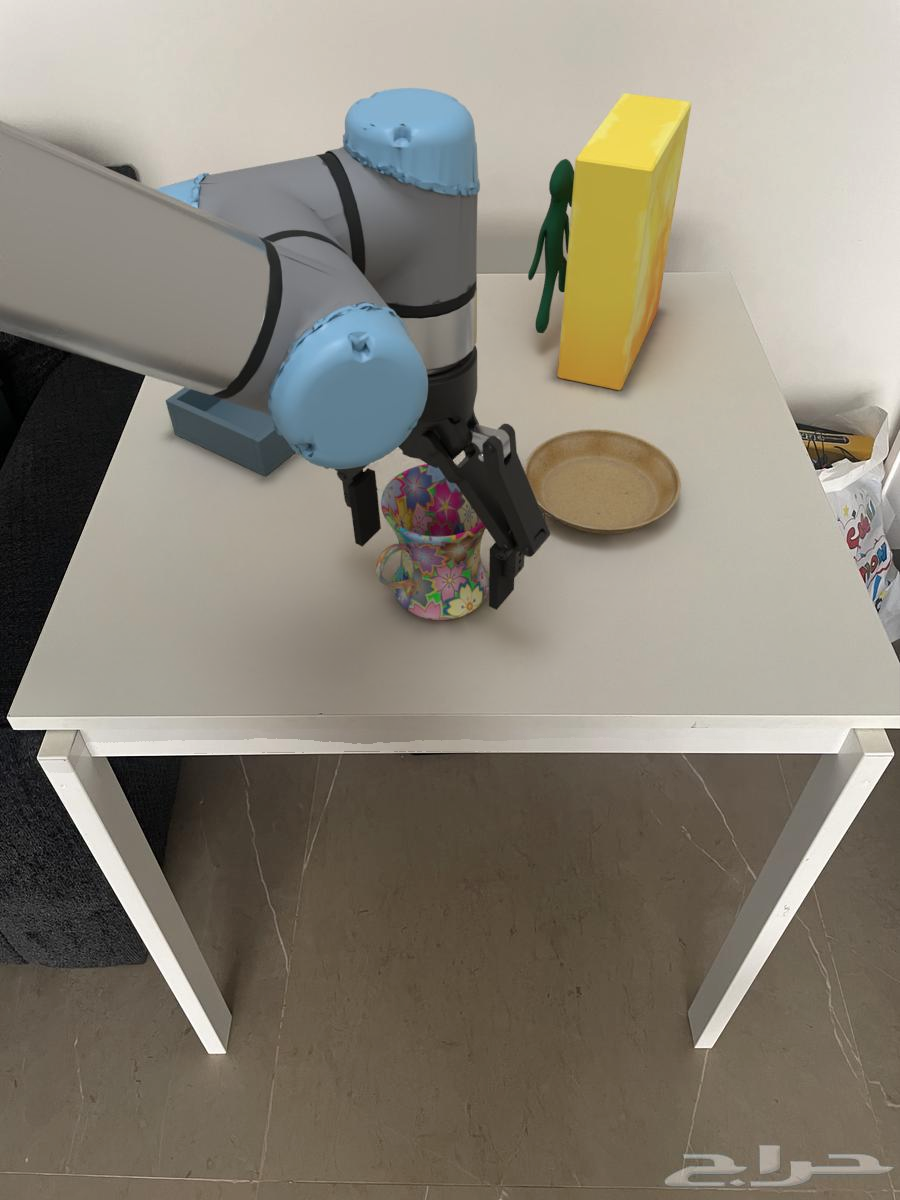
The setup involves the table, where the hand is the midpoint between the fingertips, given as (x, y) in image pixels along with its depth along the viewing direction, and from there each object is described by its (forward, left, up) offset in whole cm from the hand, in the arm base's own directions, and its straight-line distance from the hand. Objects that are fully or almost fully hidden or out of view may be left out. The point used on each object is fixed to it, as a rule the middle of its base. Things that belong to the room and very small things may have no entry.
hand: (432, 566), depth 80 cm
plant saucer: (+6, +20, -4) cm, 21 cm away
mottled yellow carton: (-8, +44, -4) cm, 45 cm away
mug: (0, 0, -4) cm, 4 cm away
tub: (-30, +12, -4) cm, 32 cm away
